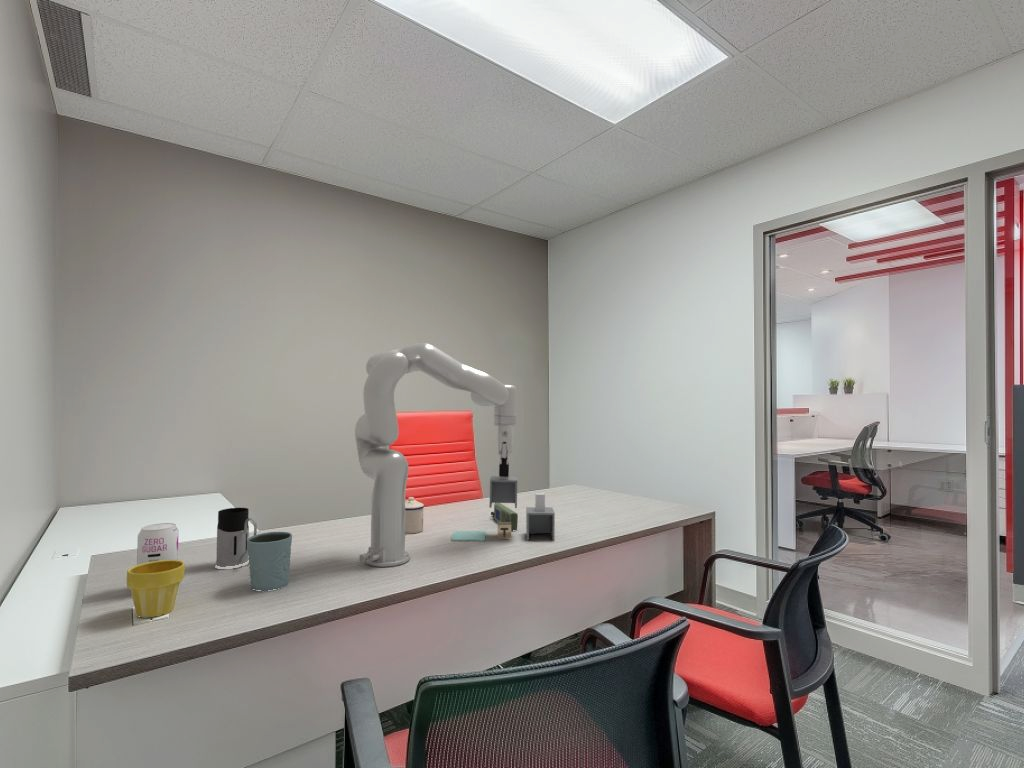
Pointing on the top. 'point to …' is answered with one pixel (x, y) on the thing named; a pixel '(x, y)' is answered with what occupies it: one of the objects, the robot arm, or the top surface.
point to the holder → (233, 536)
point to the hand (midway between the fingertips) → (503, 475)
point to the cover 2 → (540, 517)
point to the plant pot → (155, 586)
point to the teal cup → (269, 560)
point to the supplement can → (157, 543)
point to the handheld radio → (505, 515)
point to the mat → (468, 536)
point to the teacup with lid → (413, 516)
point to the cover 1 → (503, 490)
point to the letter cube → (504, 529)
